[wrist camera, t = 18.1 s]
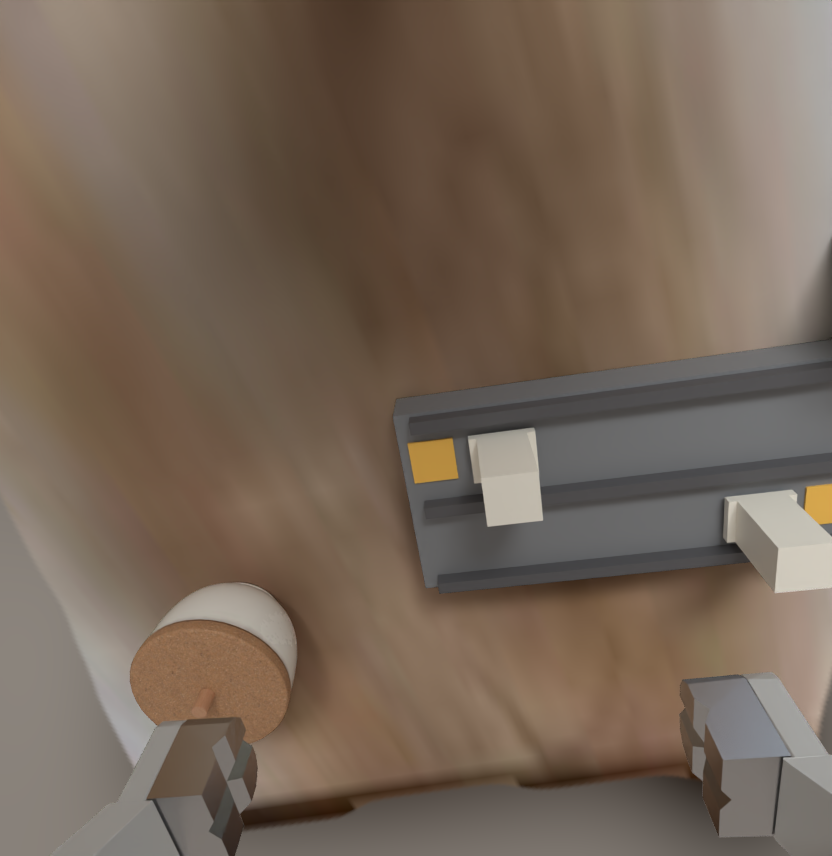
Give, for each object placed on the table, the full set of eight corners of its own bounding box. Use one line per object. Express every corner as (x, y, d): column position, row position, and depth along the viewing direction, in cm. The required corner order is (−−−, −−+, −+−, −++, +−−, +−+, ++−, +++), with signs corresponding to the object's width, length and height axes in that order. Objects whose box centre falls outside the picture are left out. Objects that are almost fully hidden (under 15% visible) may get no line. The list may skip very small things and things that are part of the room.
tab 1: (467, 435, 37) (471, 479, 32) (533, 427, 36) (548, 470, 31) (473, 478, 38) (478, 527, 33) (538, 471, 37) (552, 519, 32)
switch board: (396, 399, 40) (391, 422, 36) (849, 336, 37) (894, 355, 33) (427, 562, 45) (425, 597, 41) (827, 518, 42) (864, 553, 38)
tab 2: (724, 497, 38) (768, 549, 32) (792, 489, 37) (847, 541, 32) (722, 537, 39) (765, 594, 34) (788, 530, 38) (841, 586, 33)
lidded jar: (243, 532, 44) (194, 620, 36) (340, 624, 47) (316, 726, 39) (148, 602, 47) (82, 699, 39) (245, 684, 50) (203, 791, 42)
